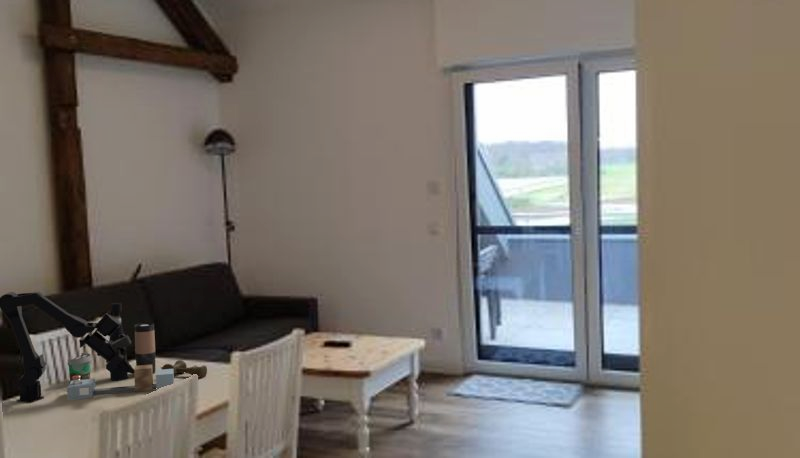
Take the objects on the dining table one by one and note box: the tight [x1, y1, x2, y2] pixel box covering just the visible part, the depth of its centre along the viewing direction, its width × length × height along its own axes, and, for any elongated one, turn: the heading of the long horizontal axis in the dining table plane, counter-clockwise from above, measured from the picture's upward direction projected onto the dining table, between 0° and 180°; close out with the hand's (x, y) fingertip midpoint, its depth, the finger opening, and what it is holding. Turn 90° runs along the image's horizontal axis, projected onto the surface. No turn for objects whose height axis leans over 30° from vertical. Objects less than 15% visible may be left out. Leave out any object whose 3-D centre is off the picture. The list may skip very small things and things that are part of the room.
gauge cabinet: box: [66, 378, 96, 401], centre depth 262 cm, size 8×10×4 cm
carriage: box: [133, 365, 154, 392], centre depth 268 cm, size 6×6×8 cm
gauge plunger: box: [72, 375, 81, 385], centre depth 261 cm, size 3×3×5 cm
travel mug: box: [134, 322, 156, 374], centre depth 292 cm, size 8×8×20 cm
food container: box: [67, 352, 93, 382], centre depth 282 cm, size 12×6×10 cm, turn 179°
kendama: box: [160, 359, 208, 379], centre depth 287 cm, size 6×10×20 cm
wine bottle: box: [109, 302, 129, 381], centre depth 284 cm, size 6×6×30 cm
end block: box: [155, 369, 175, 390], centre depth 270 cm, size 6×8×6 cm
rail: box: [93, 383, 157, 396], centre depth 266 cm, size 22×3×2 cm, turn 106°
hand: (134, 372), depth 267 cm, fingers closed, pressing on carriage
